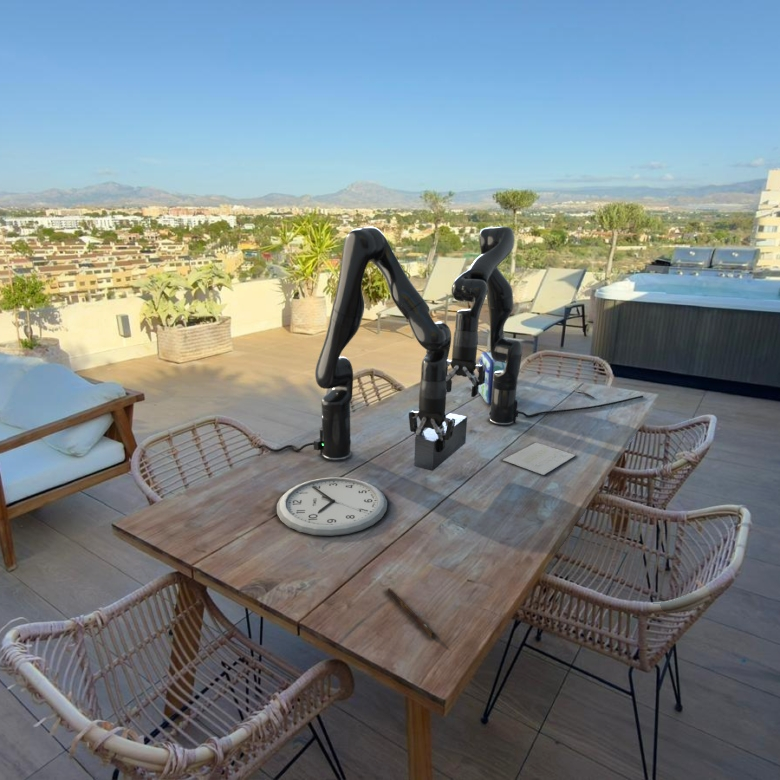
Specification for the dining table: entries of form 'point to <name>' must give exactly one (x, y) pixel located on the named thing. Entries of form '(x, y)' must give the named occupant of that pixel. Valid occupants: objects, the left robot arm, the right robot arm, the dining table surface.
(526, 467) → the invitation card
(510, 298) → the right robot arm
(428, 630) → the dark brown stick
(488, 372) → the lunch box
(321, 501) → the wall clock
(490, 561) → the dining table surface
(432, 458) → the bar
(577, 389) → the fork
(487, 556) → the dining table surface
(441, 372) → the left robot arm
